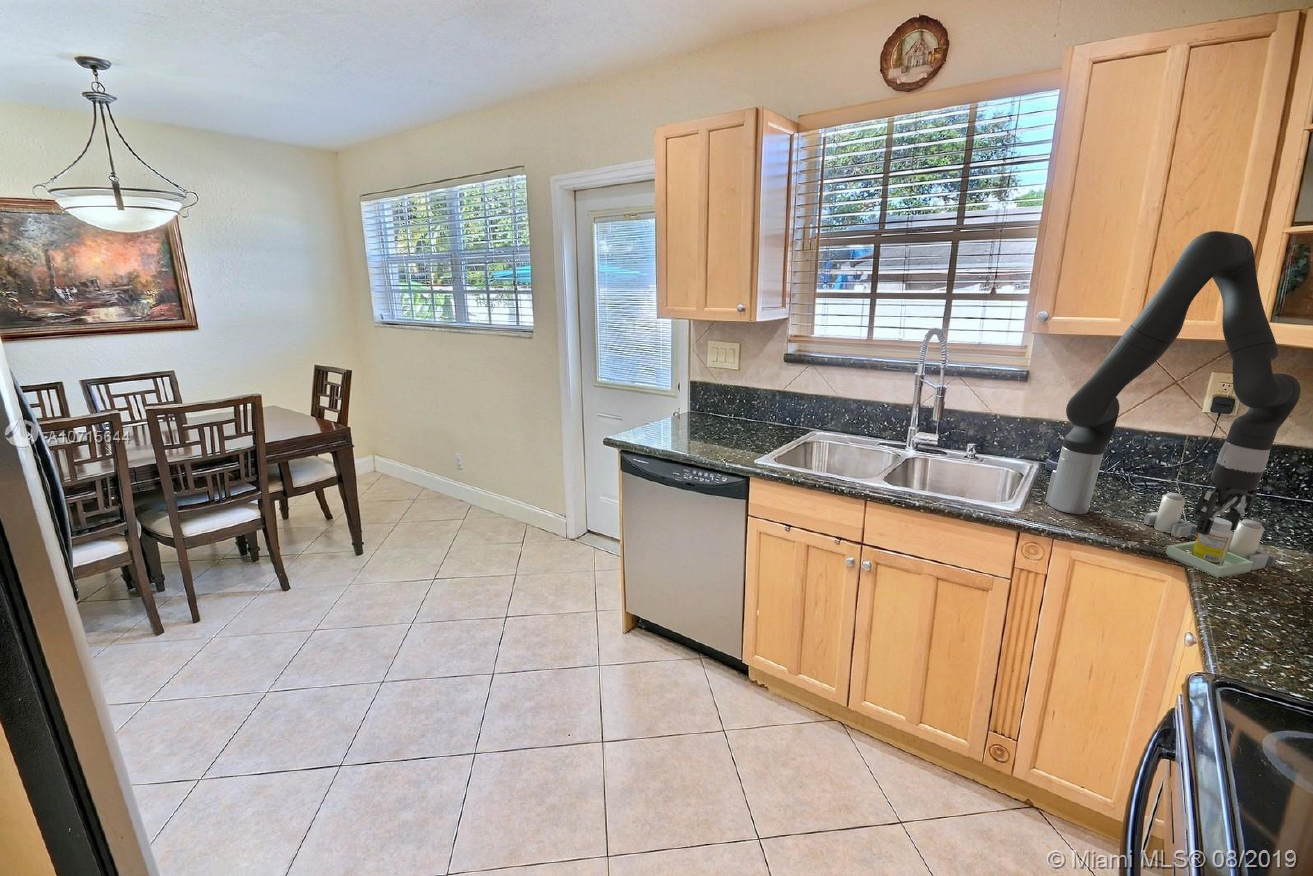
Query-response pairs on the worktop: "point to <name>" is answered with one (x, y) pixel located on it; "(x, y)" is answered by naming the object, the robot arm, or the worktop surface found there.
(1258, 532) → the fuse
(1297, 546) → the worktop surface
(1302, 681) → the worktop surface
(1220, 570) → the tray
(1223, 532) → the supplement bottle
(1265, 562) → the fuse holder
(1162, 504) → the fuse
